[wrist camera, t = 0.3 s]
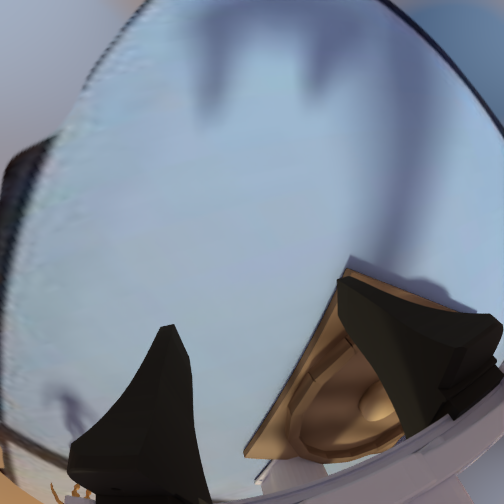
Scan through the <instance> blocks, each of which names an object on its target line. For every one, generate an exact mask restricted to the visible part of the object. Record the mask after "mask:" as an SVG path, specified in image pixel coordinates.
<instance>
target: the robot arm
mask: <svg viewBox="0 0 504 504" xmlns="http://www.w3.org/2000/svg"><path fill="white" fill-rule="evenodd" d="M337 309H338V317H339V319H340V321H341V323H342V325H343V326H344V328H345V330H346V332H347V333H348V335H349V336H350V338H351V339H352V340H353V342H354V343H355V344H356V346H357V347H358V348H359V350H360V351H361V353H362V354H363V355H364V357H365V358H366V359H367V361H368V362H369V363H370V365H371V366H372V368H373V369H374V371H375V372H376V374H377V376H378V378H379V379H380V381H381V383H382V385H383V387H384V389H385V391H386V393H387V395H388V397H389V399H390V401H391V403H392V405H393V407H394V409H395V412H396V414H397V416H398V418H399V421H400V423H401V426H402V428H403V431H404V434H405V436H406V439H407V440H405V441H403V442H401V443H399V444H398V445H396V446H394V447H392V448H390V449H388V450H386V451H384V452H382V453H380V454H378V455H376V456H374V457H372V458H370V459H368V460H365V461H363V462H361V463H359V464H356V465H354V466H352V467H349V468H347V469H344V470H342V471H339V472H337V473H334V474H331V475H329V476H328V474H327V472H326V470H325V468H324V465H323V464H320V463H316V462H313V461H310V460H306V459H303V458H300V457H299V456H298V457H294V458H291V459H288V460H276V459H273V460H272V462H271V463H270V464H269V465H268V466H267V468H266V469H265V470H264V471H263V472H262V473H261V475H260V476H259V477H258V478H257V479H256V480H255V481H254V483H255V484H256V485H261V488H262V492H263V495H261V496H256V497H252V498H247V499H241V500H236V501H230V502H223V503H216V504H474V503H473V501H472V500H471V498H470V496H469V495H468V493H467V491H466V490H465V488H464V487H463V485H462V483H461V482H460V480H459V479H458V477H457V475H458V474H459V473H461V472H462V471H463V470H465V469H466V468H467V467H469V466H470V465H471V464H472V463H473V462H475V461H476V460H477V459H478V458H479V457H480V456H482V455H483V454H484V453H485V452H486V451H487V450H488V449H489V448H491V447H492V446H493V445H494V444H495V443H496V442H497V441H498V440H499V439H500V438H501V437H502V436H503V435H504V363H503V364H502V365H501V366H500V367H499V368H498V367H497V366H496V365H495V364H496V363H497V359H496V358H495V357H494V356H493V354H494V352H495V350H496V348H497V346H498V344H499V342H500V339H501V337H502V334H503V325H502V324H501V323H500V322H499V321H498V320H497V319H496V318H495V317H493V316H492V315H491V314H473V313H460V312H451V311H445V310H440V309H435V308H431V307H427V306H423V305H420V304H416V303H413V302H410V301H407V300H404V299H402V298H399V297H396V296H394V295H392V294H389V293H387V292H385V291H382V290H380V289H378V288H376V287H373V286H371V285H369V284H367V283H365V282H363V281H360V280H358V279H356V278H354V277H351V276H346V277H343V278H340V279H337ZM67 474H68V475H69V477H70V478H71V479H72V480H73V481H75V482H76V483H77V484H79V485H81V486H82V487H84V488H86V489H87V490H89V491H91V492H93V493H94V494H96V501H95V500H92V499H87V498H81V497H74V496H68V495H67V496H65V503H64V504H213V503H212V500H211V497H210V493H209V490H208V487H207V483H206V480H205V476H204V472H203V468H202V464H201V459H200V455H199V450H198V445H197V439H196V434H195V428H194V415H193V387H192V373H191V366H190V359H189V356H188V354H187V351H186V349H185V347H184V345H183V343H182V341H181V338H180V336H179V334H178V332H177V329H176V327H175V325H174V324H172V325H167V326H163V327H160V329H159V331H158V333H157V335H156V337H155V339H154V341H153V343H152V345H151V347H150V349H149V351H148V353H147V355H146V357H145V359H144V361H143V362H142V364H141V366H140V368H139V369H138V371H137V373H136V375H135V376H134V378H133V380H132V381H131V383H130V384H129V386H128V387H127V388H126V390H125V391H124V393H123V394H122V395H121V397H120V398H119V399H118V400H117V401H116V403H115V404H114V405H113V406H112V407H111V408H110V410H109V411H108V412H107V413H106V414H105V415H104V416H103V417H102V418H101V419H100V420H99V421H98V422H97V423H96V424H95V425H94V426H93V427H92V428H90V429H89V430H88V431H87V432H86V433H84V434H83V435H82V436H81V437H79V438H78V439H77V440H76V441H74V442H73V443H71V448H70V453H69V460H68V467H67Z"/></svg>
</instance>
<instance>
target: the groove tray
mask: <svg viewBox="0 0 504 504" xmlns="http://www.w3.org/2000/svg"><path fill="white" fill-rule="evenodd" d="M346 276H351V277H354V278H356V279H358V280H360V281H363V282H365V283H367V284H369V285H371V286H373V287H376V288H378V289H380V290H382V291H385V292H387V293H389V294H392V295H394V296H396V297H399V298H402V299H404V300H407V301H410V302H413V303H416V304H420V305H423V306H427V307H431V308H435V309H440V310H445V311H451V312H457V311H455V310H452V309H450V308H447V307H445V306H443V305H440V304H438V303H435V302H433V301H430V300H428V299H425V298H423V297H420V296H418V295H415V294H413V293H410V292H407V291H405V290H402V289H400V288H397V287H395V286H392V285H390V284H387V283H385V282H382V281H379V280H377V279H374V278H372V277H369V276H366V275H364V274H361V273H359V272H356V271H353V270H351V269H348V268H346V270H345V272H344V275H343V277H346ZM343 277H342V278H343ZM404 435H405V434H404V431H403V428H402V426H401V423H400V421H399V418H398V416H397V414H396V412H395V409H394V407H393V405H392V403H391V401H390V399H389V397H388V395H387V393H386V391H385V389H384V387H383V385H382V383H381V381H380V379H379V378H378V376H377V374H376V372H375V371H374V369H373V368H372V366H371V365H370V363H369V362H368V361H367V359H366V358H365V357H364V355H363V354H362V353H361V351H360V350H359V348H358V347H357V346H356V344H355V343H354V342H353V340H352V339H351V338H350V336H349V335H348V333H347V332H346V330H345V328H344V326H343V325H342V323H341V321H340V319H339V317H338V309H337V290H336V292H335V294H334V296H333V298H332V300H331V302H330V304H329V306H328V308H327V310H326V312H325V314H324V316H323V318H322V320H321V322H320V324H319V326H318V328H317V330H316V332H315V334H314V336H313V337H312V339H311V341H310V343H309V345H308V347H307V349H306V350H305V352H304V354H303V356H302V358H301V360H300V361H299V363H298V365H297V367H296V368H295V370H294V372H293V374H292V375H291V377H290V379H289V381H288V382H287V384H286V386H285V387H284V389H283V391H282V392H281V394H280V396H279V397H278V399H277V401H276V402H275V404H274V406H273V407H272V409H271V410H270V412H269V414H268V415H267V417H266V418H265V420H264V421H263V423H262V425H261V426H260V428H259V429H258V431H257V432H256V434H255V435H254V437H253V438H252V440H251V441H250V443H249V444H248V446H247V447H246V449H245V450H244V451H243V453H244V458H254V459H276V460H288V459H291V458H294V457H298V456H299V457H300V458H303V459H306V460H310V461H313V462H316V463H320V464H330V463H342V462H348V461H352V460H355V459H358V458H361V457H364V456H367V455H370V454H377V453H382V452H384V451H386V450H388V449H390V448H392V447H393V446H394V445H395V444H396V443H397V441H398V440H399V439H400V438H401V437H402V436H404Z"/></svg>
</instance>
